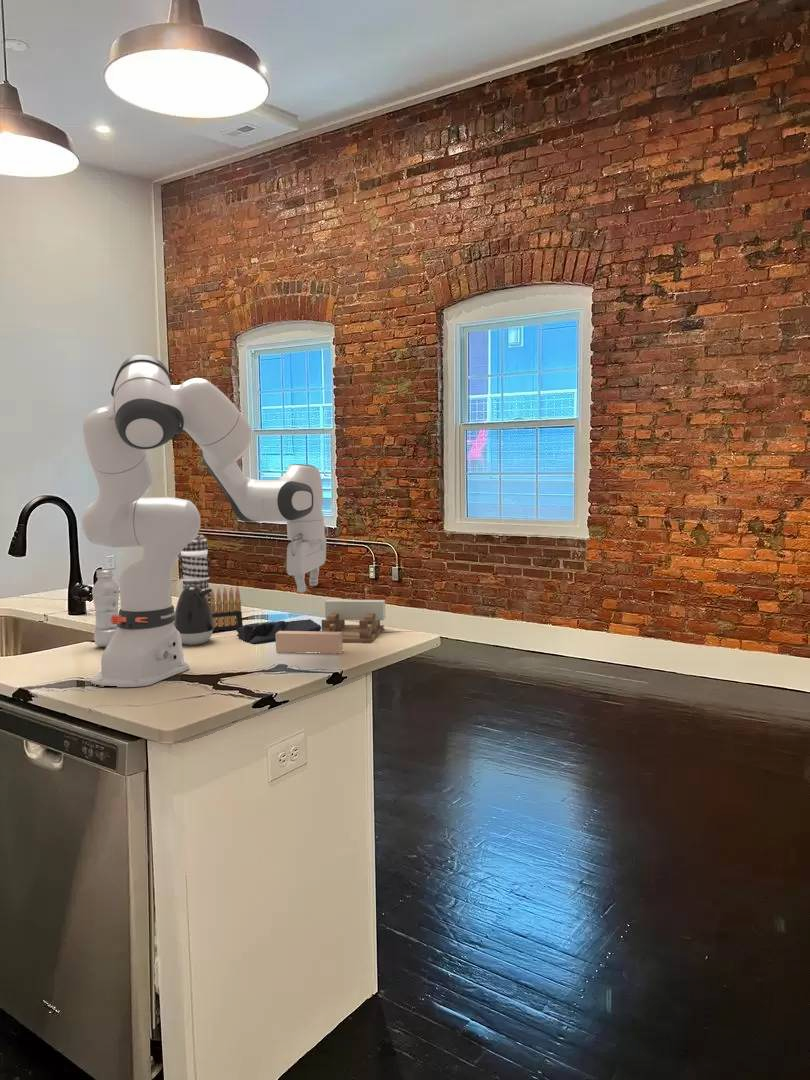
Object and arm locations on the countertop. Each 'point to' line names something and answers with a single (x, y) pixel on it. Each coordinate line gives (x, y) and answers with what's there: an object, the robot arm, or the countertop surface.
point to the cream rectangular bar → (355, 609)
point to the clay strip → (309, 641)
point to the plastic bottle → (105, 606)
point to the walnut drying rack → (354, 628)
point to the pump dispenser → (194, 616)
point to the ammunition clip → (226, 610)
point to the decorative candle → (195, 564)
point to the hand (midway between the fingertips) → (307, 588)
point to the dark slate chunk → (273, 630)
